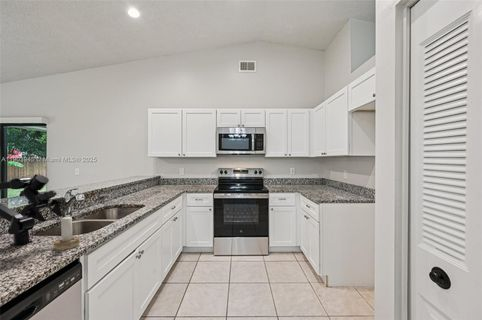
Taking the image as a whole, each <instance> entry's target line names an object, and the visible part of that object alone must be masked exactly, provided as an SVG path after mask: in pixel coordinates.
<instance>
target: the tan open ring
mask: <svg viewBox="0 0 482 320" xmlns="http://www.w3.org/2000/svg"><path fill="white" fill-rule="evenodd" d="M72 238H73V240H72V241H68V242H62V237H61V238H59V239H55V240H54V242H53V243H54V244H53V248H54V249H53V250H59V251H60V250H61V251H62V250H67V249H72V248H76V247H78V246H79V245H80V236H73V235H72Z"/></svg>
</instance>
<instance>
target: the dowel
mask: <svg viewBox="0 0 482 320" xmlns="http://www.w3.org/2000/svg"><path fill="white" fill-rule="evenodd" d="M60 225H61V227H60V230H61V233H60V234H61V238H62V242H68V241H72V240H73V238H72V236H73V218H72V217H71V216H68V217H62V218H60Z"/></svg>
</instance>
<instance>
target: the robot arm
mask: <svg viewBox="0 0 482 320" xmlns="http://www.w3.org/2000/svg"><path fill="white" fill-rule="evenodd" d="M49 180H50V179H49V178H48V177H46V176H44V175H42V174H40V173H35V174H34V175H33V177H32V178H31V177H29V176H24V177H15V178H13V179H10V180H8V181H5V182H4V181H3V182H0V191H1V190H3V191H4V190H9V189H10V190H20V193H19V197H25V198H26V199H27V200H28V202H27V204H26V205H24V207H23V208H22V209H21V211H19V212H20V213H18V212H16V211H14V210H13V209H11V208H10V207H8V206H7V205H5V204H3V203H1V202H0V217H1V218H3V219H5V220H6V221H8V222H9V223H10V224H9V225H10V227H9V228H8V229H7V232H8V235H12V237H13V242H12V243H10V246H14V247H15V246H18V247H21V246H24V245H26V244H29V243H33V240H30V231H31V230H33V229H34V226H35V223H36V221H35V220H37V221H39V222H43V223H44V222H46V221H47V220H46V219H45V217H44V216H43V214H42V213H41V212H40V210H42V209H46V208H49V209H50V211H51V212H52V213H54V214H55V215H57V216H58V217H60V218H61V217H63V214H62V209H61V205H62V203H63V202H64V200H63V198H61V197H60V198H55V197H56V196H57V195H58V193H57V191H56V190H54V189H50V190H49V191H45V192H43V193H41V192H40V191H42V190H43V189H44V188H45V186H46V185H47V184H48V183H49ZM52 198H53V199H52ZM51 199H52V200H51ZM50 201H51V202H50Z"/></svg>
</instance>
